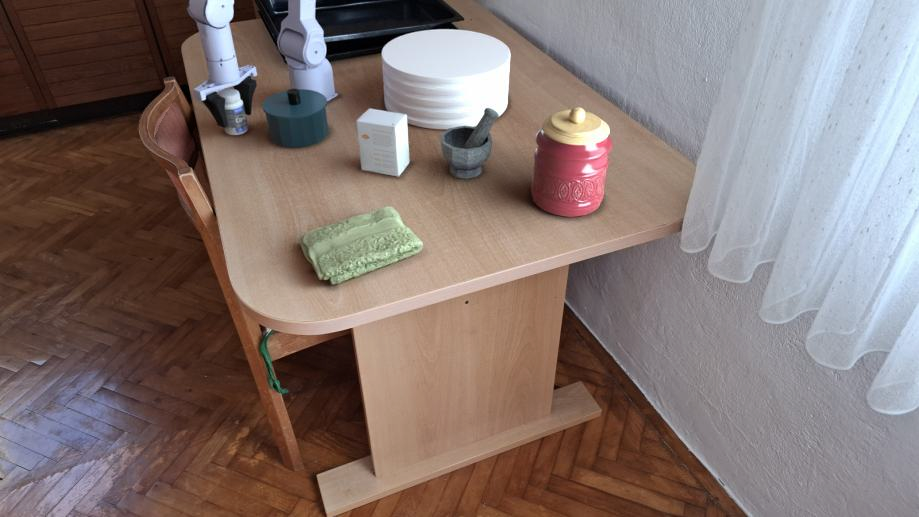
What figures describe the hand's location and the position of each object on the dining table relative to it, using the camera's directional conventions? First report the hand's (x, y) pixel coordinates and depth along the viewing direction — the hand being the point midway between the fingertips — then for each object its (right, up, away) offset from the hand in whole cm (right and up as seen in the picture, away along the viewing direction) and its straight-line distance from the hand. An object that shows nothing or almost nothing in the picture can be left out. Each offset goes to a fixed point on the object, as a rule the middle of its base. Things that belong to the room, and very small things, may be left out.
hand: (234, 119), depth 136 cm
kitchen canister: (+66, -18, -17) cm, 70 cm away
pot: (+13, -3, +1) cm, 14 cm away
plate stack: (+44, +7, +14) cm, 46 cm away
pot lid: (+13, +2, -3) cm, 14 cm away
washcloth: (+31, -28, -30) cm, 51 cm away
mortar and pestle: (+48, -12, -10) cm, 51 cm away
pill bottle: (0, -2, +2) cm, 3 cm away
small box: (+32, -11, -9) cm, 35 cm away
